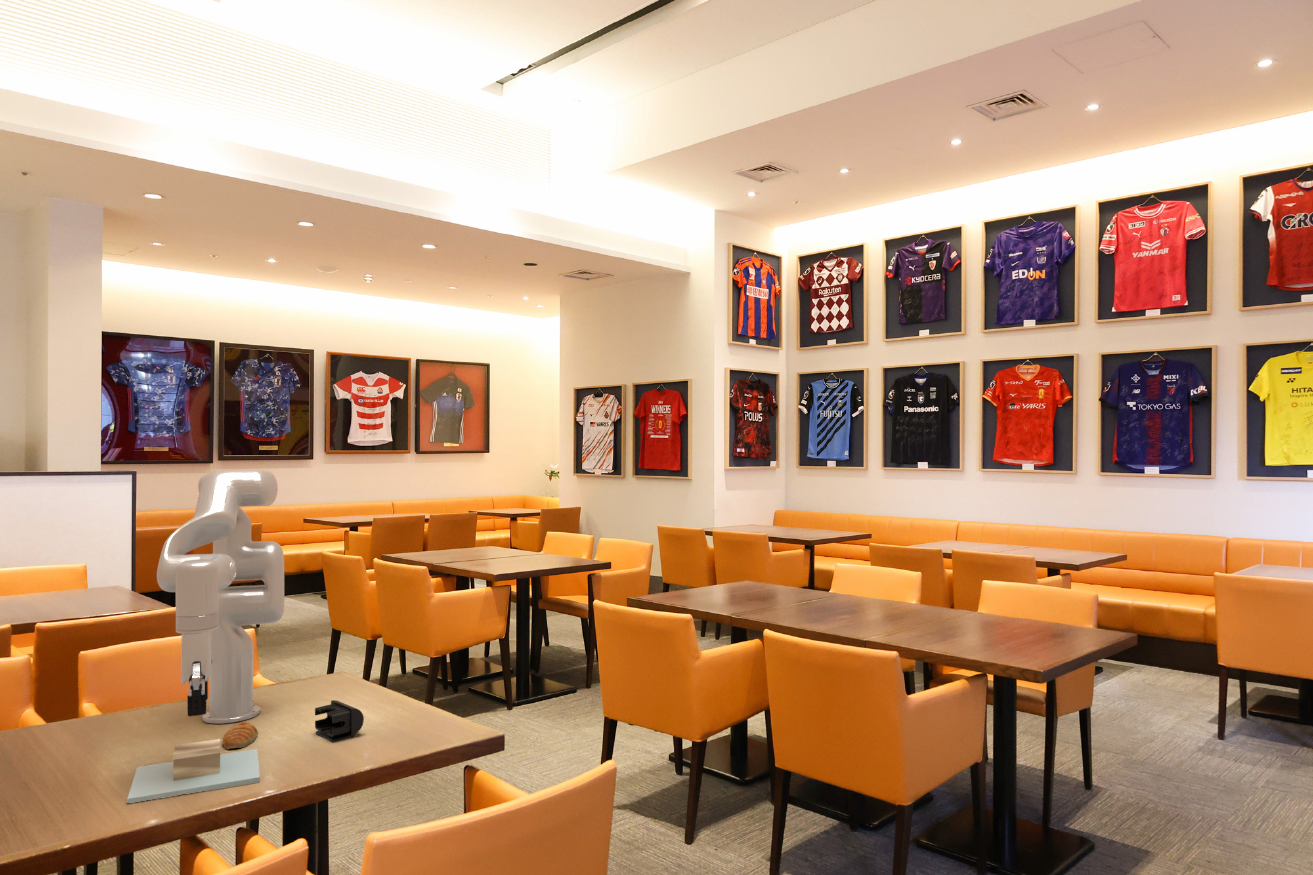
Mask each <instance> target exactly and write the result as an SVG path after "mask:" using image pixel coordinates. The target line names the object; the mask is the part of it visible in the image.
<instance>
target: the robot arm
mask: <svg viewBox="0 0 1313 875" xmlns="http://www.w3.org/2000/svg"><path fill="white" fill-rule="evenodd" d="M278 487H279V486H278V481H277V479H276V476H275V475H274V473H273V472H271V471H267V470H260V469H224V470H214V471H211V472H210V473H207V474H204V475H203V476H201V477H200V478H199V480H198V483H197V490H198V496H197V501H196V506H195V511H194V514H193V518H191V519H189V520H187V521H186V522H185V523H183V524H182V525H181V526H179V527H178V528H176V529H175V530H174V532H173V531H172V533H170V535H169V536H168V537H167V539H166V540H165V541H164V544H163V546H162V549H161V552H160V556H159V560H158V565H157V570H156V582H157V584H158V586H159V588H160V589H161V590H163V592H168V593H175V633H177V634H180V635H181V642H180V684H181V685H183V686H184V685H185V684H186V683H188V695H187V699H186V700H187V702H186V703H187V716H188V717H195V716H202V717H201V718H202V721H203V722H204V723H207V724H214V725H215V724H216V725H219V724H230V723H236V722H237V723H238V722H244V721H245V720H250V719H252V718H254V717H257V716H258V715H259V714H260V713H261V712H260V711H261V709H260V706H259V705H257V704H254V644H253V640H252V638H251V636H250V634H248V632H247V631H246V630H245V629H244V628H243V626H250V625H251V626H252V625H267V624H268V625H269V624H274V623H278V622H279V621H281V619H282V618H283V616H284V615H283V614H284V612H285V556H284V551H283V548H282V546H281V544H279V543H278V542H276V541H272V540H271V541H270V540H263V541H254V540H252V521H251V518H250V517H249V515H248V513H246V511H245V510H244V509H242V507H243V508H245V507H269V506H271V505H273V504H274V502H275V500H277V499H276V498H277V496H278V491H279V490H278ZM211 543H212V553H207V554H206V553H199V554H198V553H196V554H187V553H188V552H189V553H190V552H191V551H193V550H195V549H197V548H200V547H202V546H205V545H209V544H211ZM257 580H259V581H262V582H263V583H264V584H257V585H240V586H239V585H238V586H237V585H236V586H230V585H231V584H232V583H233V582H238V581H242V582H243V581H257ZM208 681H209V682H208ZM208 683H209V684H208ZM208 686H209V687H208ZM208 688H209V691H208ZM208 694H209V695H208ZM208 696H209V710H207V700H208Z"/></svg>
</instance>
